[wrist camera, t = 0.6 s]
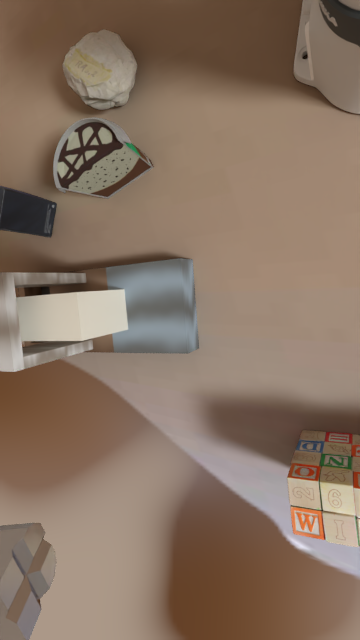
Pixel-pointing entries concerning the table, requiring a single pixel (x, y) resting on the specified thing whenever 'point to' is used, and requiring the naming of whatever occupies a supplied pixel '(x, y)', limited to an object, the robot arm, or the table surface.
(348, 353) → the table surface
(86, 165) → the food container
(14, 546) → the robot arm
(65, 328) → the cream block
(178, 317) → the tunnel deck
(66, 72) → the fossil replica
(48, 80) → the table surface
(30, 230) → the small box
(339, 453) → the stack of blocks
